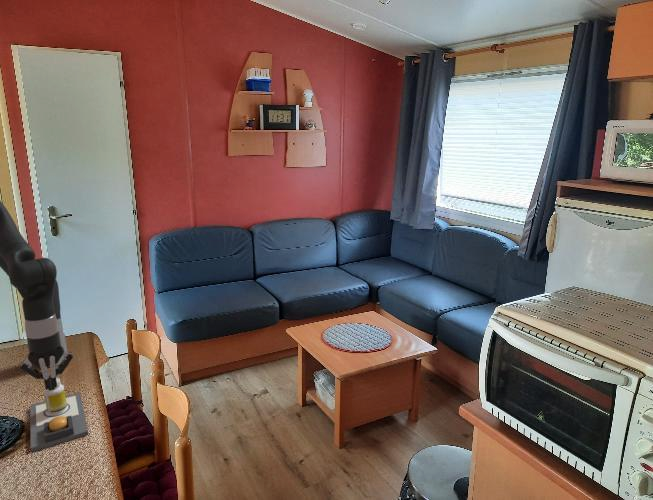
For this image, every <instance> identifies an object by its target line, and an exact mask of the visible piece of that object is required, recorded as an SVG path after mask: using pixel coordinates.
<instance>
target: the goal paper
mask: <svg viewBox="0 0 653 500" xmlns="http://www.w3.org/2000/svg"><path fill="white" fill-rule="evenodd" d="M66 402H67V408H66V409H65V410H64V411H62V412H60V413H57V414H49V413H48V412H47V408H46V403H45V404H42V405H38V406H36V427H38V426H41V425H44V423H46V422H49V421H50V420H52V419H53V418H56V417H59V416H64V417H67V416H71V417H73V416H77V415H79V413H78V407H77V402H76V396H72V397H68V398H66Z"/></svg>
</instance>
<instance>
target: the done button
mask: <svg viewBox="0 0 653 500" xmlns="http://www.w3.org/2000/svg"><path fill="white" fill-rule="evenodd" d="M66 427H67V419H66V417H64V416H59V417H56V418H53V419H52V420H50V421H49V428H50V431H51V432H54V431H58V430H61V429H65V428H66Z"/></svg>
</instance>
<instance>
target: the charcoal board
mask: <svg viewBox="0 0 653 500" xmlns="http://www.w3.org/2000/svg"><path fill="white" fill-rule="evenodd" d="M65 396H66V398H68V397H72V396H76V402H77V407H78V413H79V415H77V416H73V417H71V416H67V417H66V419H67V427H66V428H65V429H61V430H58V431H54V432H51V431H50V428H49V422H46V423H44V425H41V426H38V427H36V406H38V405H42V404H45V403H46V402H45V400H44V401H40V402H35V403H32V404H30V405H29V406H30V407H29V408H30V409H29V412H30V413H29V414H30V415H29V416H30V422H29V423H30V425H29V426H30V451H31V453H33V452H35V451H36V452H37V451H39V450H43V449H45V448H49V447H51V446H56V445H58V444H62V443H66V442H68V441H72V440H74V439H78V438H81V437H85V436H88V434H89V429H88V424H87V419H86V414H85V410H84V409H85V408H84V405H83V400H82V395H81V391H79V392H78V391H77V392H75V393H72V394H71V393H70V394H67V395H66V394H65Z"/></svg>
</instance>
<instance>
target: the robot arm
mask: <svg viewBox="0 0 653 500" xmlns="http://www.w3.org/2000/svg"><path fill="white" fill-rule="evenodd" d="M0 269H1V270H2V271H3V272H4V273H5V274H6V275H7V277H8V278H9V281H10V284H11V285H12V286H13V287H14V288H15V289H17V292H18V293H19V295H20V297H21V298H22V301H21V304H22V305H21V306H22V310H23V317H24V330H25V334H26V335H25V336H26V341H27V348H28V354H27V358H26V360H25V361H22V362H20V369H21V370H22V371H23V372H25V373H27V374H28V375H29V376H32V377H33V378H34V379H36V380H39V379H42V380H43V381H44V387H45V388H46V390H47V389H49V391H51V390H55V387H57V381H56V378H57V376H58V375H61V374H64V373H63V372H64V371H65V370H66V368H67V367H68V366H69V364H70V362H71V361H72V359H73V358H74V356H73V352H72V351H68V346H67V339H66V334H65V333H64V328H63V321H62V314H61V302H60V301H61V300H60V290H59V284H58V281H57V275H58V274H57V267H56V265H55V263H54V261H53V260H51V259H50V258H47V257H40V258H36V252H35V251H34V249H33V248H32V246H31V245H30V244H29V243H28V241H27V240H26V239H25V238H24V237H23V235H22V233H21V232H20V230H19V228H18V226H17V224H16V223H15V221H14V219H13V217H12V215H11V214H10V212H9V211H8V209H7V207H6V205H4V203H3V202H2V201H1V200H0ZM32 364H33V365H35V367H37V368H40V371H39V370H38V369H36V368H35V367H33V366H32ZM56 366H57V368H56ZM48 368H49V370H50V371H49V370H48ZM49 372H50V374H49ZM51 387H52V388H51Z"/></svg>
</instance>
